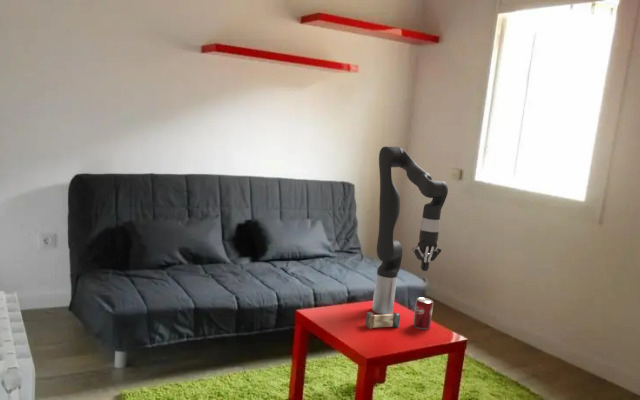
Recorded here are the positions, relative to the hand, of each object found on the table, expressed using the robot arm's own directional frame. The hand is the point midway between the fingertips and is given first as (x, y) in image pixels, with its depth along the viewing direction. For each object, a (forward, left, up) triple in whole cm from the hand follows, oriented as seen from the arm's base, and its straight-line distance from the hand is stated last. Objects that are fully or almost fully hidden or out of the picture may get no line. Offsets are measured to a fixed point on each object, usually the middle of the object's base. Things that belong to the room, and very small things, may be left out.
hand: (424, 270), depth 232 cm
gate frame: (-9, -11, -27) cm, 30 cm away
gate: (-8, -13, -27) cm, 31 cm away
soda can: (-6, +7, -27) cm, 29 cm away
